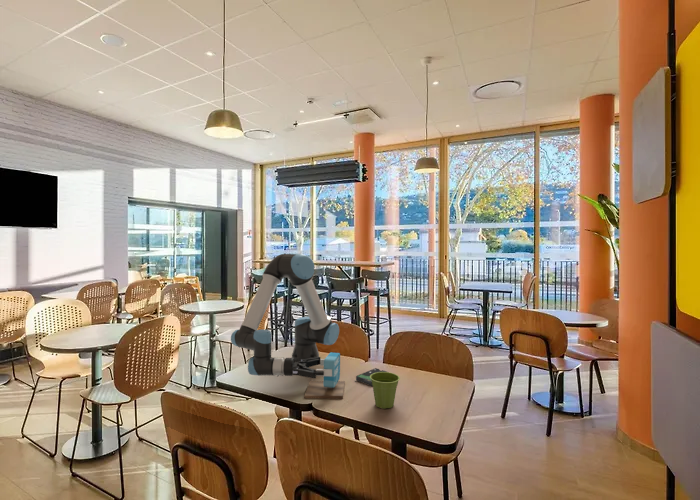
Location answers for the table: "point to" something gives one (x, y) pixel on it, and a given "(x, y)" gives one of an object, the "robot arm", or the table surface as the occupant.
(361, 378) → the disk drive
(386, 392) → the plant pot
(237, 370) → the table surface
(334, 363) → the light blue box
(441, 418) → the table surface
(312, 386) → the board
